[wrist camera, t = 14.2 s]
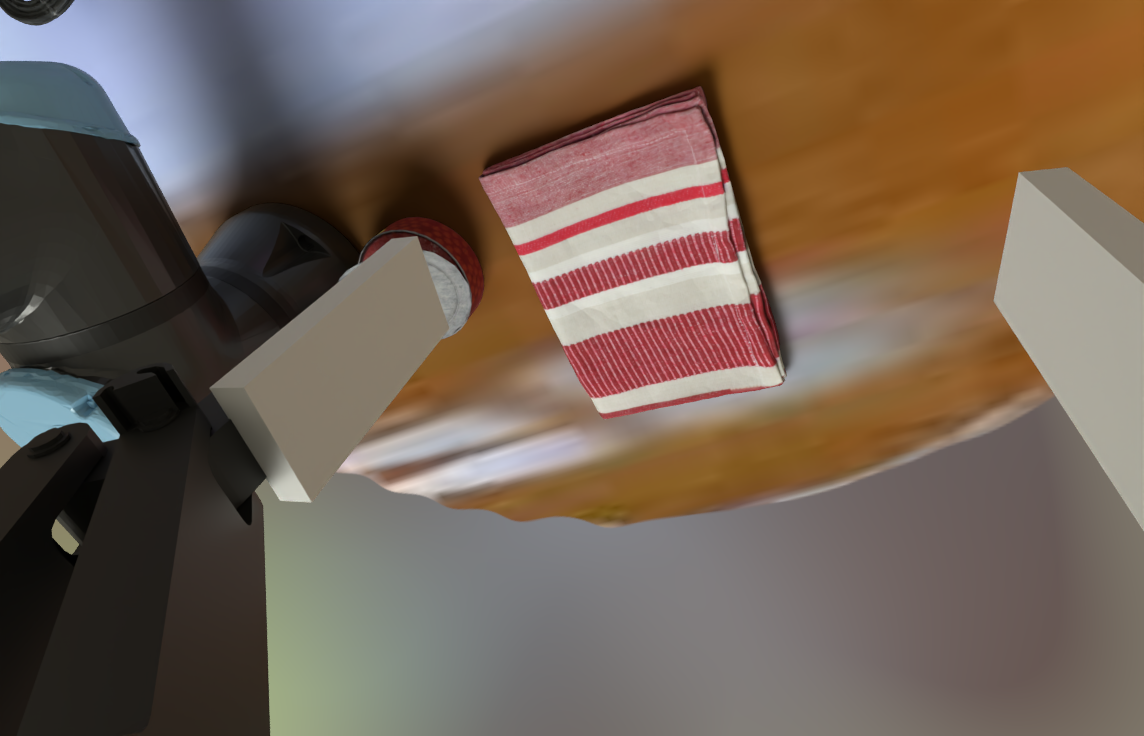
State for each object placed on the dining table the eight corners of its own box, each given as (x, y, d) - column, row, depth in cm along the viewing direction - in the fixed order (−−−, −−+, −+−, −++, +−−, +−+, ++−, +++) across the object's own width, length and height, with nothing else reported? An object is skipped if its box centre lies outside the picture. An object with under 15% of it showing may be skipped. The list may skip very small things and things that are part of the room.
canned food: (457, 196, 51) (457, 208, 42) (497, 304, 55) (506, 337, 46) (329, 240, 51) (302, 262, 42) (379, 346, 55) (364, 388, 46)
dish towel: (704, 75, 38) (701, 83, 36) (791, 373, 48) (792, 393, 46) (482, 167, 45) (469, 178, 43) (600, 410, 55) (594, 428, 53)
